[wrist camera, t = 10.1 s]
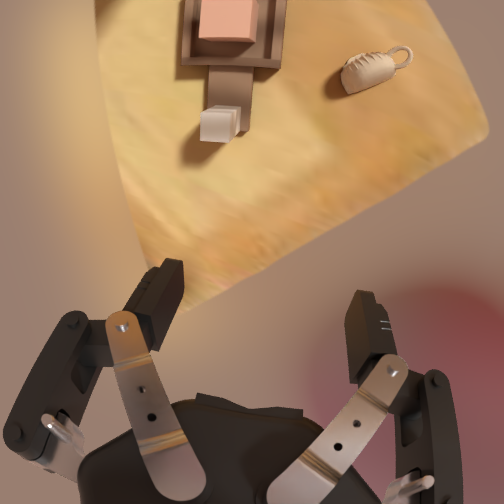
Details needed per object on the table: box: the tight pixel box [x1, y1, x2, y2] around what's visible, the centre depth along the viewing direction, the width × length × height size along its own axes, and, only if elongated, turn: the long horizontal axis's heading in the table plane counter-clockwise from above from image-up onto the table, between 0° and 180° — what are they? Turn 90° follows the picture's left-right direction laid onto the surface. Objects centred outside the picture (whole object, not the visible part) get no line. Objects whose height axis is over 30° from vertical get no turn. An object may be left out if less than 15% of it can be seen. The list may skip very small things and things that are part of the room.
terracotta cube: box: [199, 0, 259, 43], centre depth 23 cm, size 5×5×5 cm
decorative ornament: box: [341, 46, 413, 94], centre depth 25 cm, size 4×8×5 cm, turn 119°
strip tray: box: [181, 0, 287, 143], centre depth 25 cm, size 19×11×7 cm, turn 176°
